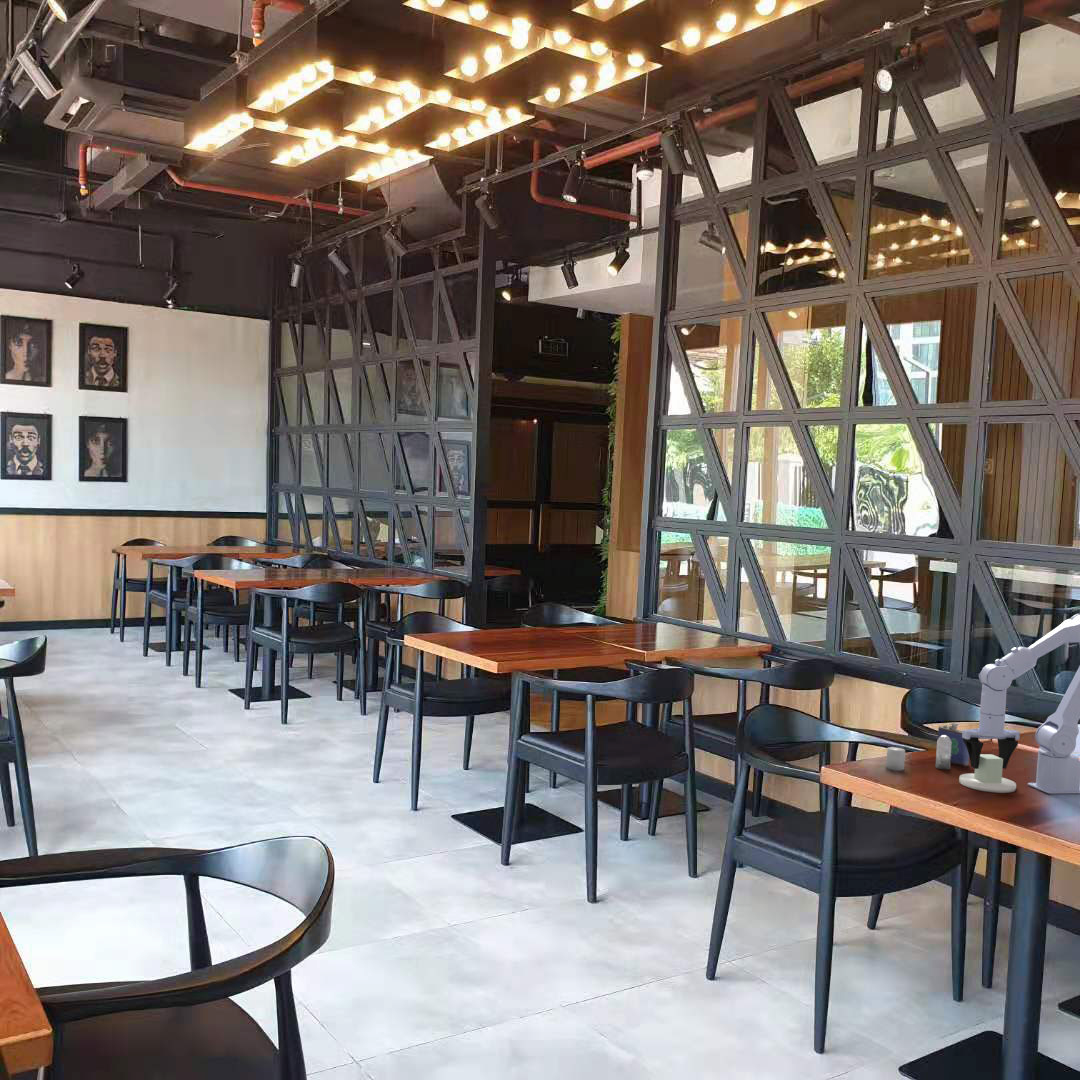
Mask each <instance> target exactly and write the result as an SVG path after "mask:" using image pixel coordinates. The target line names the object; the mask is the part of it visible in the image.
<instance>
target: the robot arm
mask: <svg viewBox="0 0 1080 1080" xmlns="http://www.w3.org/2000/svg"><path fill="white" fill-rule="evenodd" d="M1060 623H1061V624H1059V625H1058V626H1056V627H1055V628H1053V629H1052V630H1051V631H1050V632H1048V633H1046V634H1045V635H1044V636H1042V637H1041V638H1039V639H1038V640H1036V641H1035V642H1034V643H1033V644H1031V645H1030V646H1028V647H1025V646H1018V647H1017V646H1016V647H1015V646H1014V647H1013V648H1011V649H1010V650H1011V652H1009V653H1007V654H1006V655H1004V656H1003V657H1001V658H997V659H995V660H994V662H995V663H989V664H986V665H985V666H983V667H982V668H981V669H982V670H981V671H980V672H979V673H978V679H979V681H980V683H981V684H982V685H981V694H980V708H979V709H980V711H979V721H978V728H971V729H962V730H961V731H962V738H963V741H964V743H965V745H966V748H967V750H968V753H969V763H970V768H973V769H974V770H975V769H978V768H979V761H980V754H982V749H983V747H984V742H981V741H980V739H981V740H984V739H985V740H997V745H998V757H1000V758H1002V759H1003V768H1002V770H1004V769H1005V770H1006V769H1007V766H1008V764H1009V762H1010V758H1011V756H1012V755H1013V753H1014V751H1015V750H1016V748H1017V747H1018V746H1019V741H1017V740H1020V733H1021V732H1020V731H1018V730H1016V729H1015V730H1014V729H1013V730H1012V729H1005V720H1006V719H1005V718H1006V709H1007V706H1006V705H1007V692H1008V691H1007V690H1008V689H1009V688H1010V687H1011V684H1012V681H1013V680H1015V679H1017V678H1019V677H1020V676H1022V675H1024V674H1025V673H1027V672H1028V671H1029V670H1031V669H1032V668H1034V667H1035V666H1036V665H1037V661H1038V659H1039V658H1040V657H1043V656H1045V655H1046V654H1048V653H1050V652H1052V651H1054V650H1055V649H1057V648H1059V647H1060V646H1062V645H1064V644H1065V643H1078V644H1079V645H1080V613H1076V614H1074V615H1073V616H1071V617H1070V618H1068V619H1064V620H1063V622H1060ZM1079 721H1080V665H1079V666H1078V669H1077V670H1076V672H1075V674H1074V675H1073V677H1072V680H1071V681H1070V683H1069V685H1068V688H1067V689H1066V691H1065V693H1064V695H1063V697H1062V699H1061V701H1060V703H1059V704H1058V706H1057V709H1056V711H1055V712H1053V713H1052V714H1050V715H1049V716H1047V719H1046V720H1045V721H1044V722H1043V723H1042V724H1041V725H1040V726H1038V727H1037V729H1036V731H1035V735H1034V736H1035V740H1036V742H1037V744H1038V745H1039V748H1038V750H1037V752H1038V753H1037V762H1036V763H1037V765H1036V778H1035V779H1036V780H1035V782H1028V783H1027V785H1028V786H1030V787H1032V788H1035V789H1036V790H1039V791H1041V792H1043V793H1046V794H1053V795H1054V794H1055V795H1056V794H1080V759H1079V757H1077V756H1076V754H1073V752H1074V751H1075V749H1076V747H1077V737H1078V734H1079V733H1080V732H1079V725H1078V722H1079Z"/></svg>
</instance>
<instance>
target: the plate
mask: <svg viewBox="0 0 1080 1080" xmlns="http://www.w3.org/2000/svg"><path fill="white" fill-rule="evenodd" d="M974 773H975V772H974ZM974 773H973V772H971V773H963V774H960V775H959V779H958V782H959V784H961V785H962V786H964V787H967V788H969V789H972V790H977V791H981V792H988V793H999V794H1007V793H1008V794H1009V793H1013V792H1015V791H1016V790H1017V783H1016V782H1015V781H1013V780H1011V779H1008V778H1006V777H1002V781H1001V783H984V782H981V781H979V780H977V779H975V778H974Z"/></svg>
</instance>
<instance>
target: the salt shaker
mask: <svg viewBox="0 0 1080 1080" xmlns="http://www.w3.org/2000/svg"><path fill="white" fill-rule="evenodd" d="M951 746H952V742H951V739H950V738H949V737H948V736H946V735H942V736H940V737H939V738H938V737H937V741H936V753H935V754H936V756H935V768H937V769H941V770H950V769H951V763H950V762H951Z"/></svg>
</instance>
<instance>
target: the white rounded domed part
mask: <svg viewBox="0 0 1080 1080" xmlns="http://www.w3.org/2000/svg"><path fill="white" fill-rule="evenodd" d="M886 749H887V750H886V760H885V761H886V763H885V764H886V765H885V768H886V769H888V770H890V771H896V772H897V771H898V772H899V771H900V772H902V771H904V769H905V761H906V760H905V758H906V757H905V756H906V750H905V749H904V748H900V747H895V746H894V747H892V746H890V747H887V748H886Z"/></svg>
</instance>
